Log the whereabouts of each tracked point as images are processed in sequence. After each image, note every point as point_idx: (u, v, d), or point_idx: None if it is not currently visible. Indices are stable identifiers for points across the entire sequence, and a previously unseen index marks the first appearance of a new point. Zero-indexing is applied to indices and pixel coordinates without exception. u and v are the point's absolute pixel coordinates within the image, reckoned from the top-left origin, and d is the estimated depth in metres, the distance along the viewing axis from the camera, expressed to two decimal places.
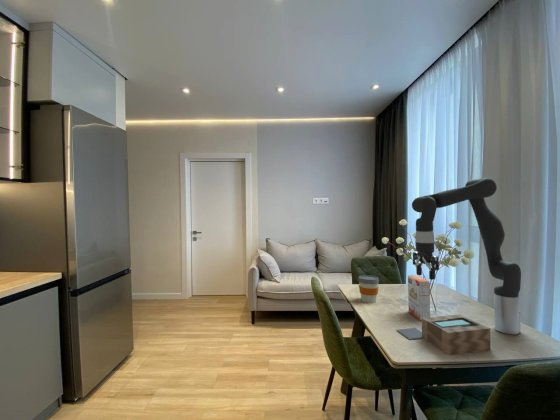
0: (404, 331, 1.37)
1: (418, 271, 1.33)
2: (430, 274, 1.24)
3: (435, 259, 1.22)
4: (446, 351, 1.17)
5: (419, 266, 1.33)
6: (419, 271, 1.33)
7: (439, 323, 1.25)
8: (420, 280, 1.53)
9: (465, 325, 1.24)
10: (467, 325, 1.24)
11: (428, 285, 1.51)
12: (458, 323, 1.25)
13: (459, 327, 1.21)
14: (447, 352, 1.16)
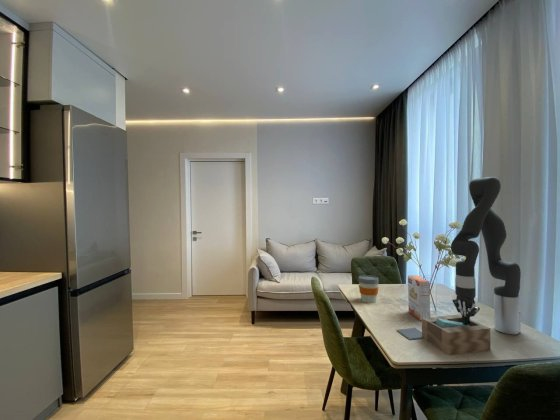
0: (404, 331, 1.37)
1: None
2: (465, 320, 1.26)
3: (475, 311, 1.21)
4: (446, 351, 1.17)
5: None
6: None
7: (441, 319, 1.25)
8: (420, 280, 1.53)
9: None
10: None
11: (428, 285, 1.51)
12: (460, 324, 1.25)
13: (459, 327, 1.21)
14: (447, 352, 1.16)
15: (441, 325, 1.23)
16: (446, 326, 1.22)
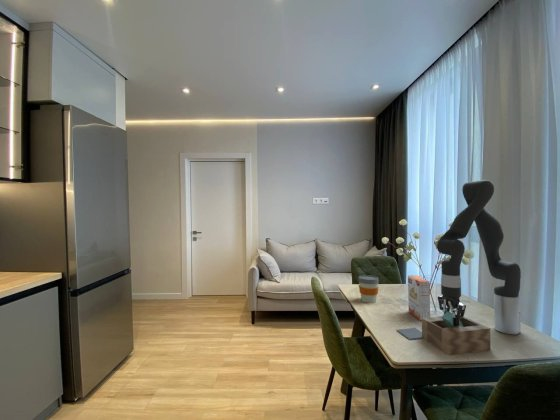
0: (404, 331, 1.37)
1: None
2: (454, 321, 1.22)
3: (462, 308, 1.19)
4: (446, 351, 1.17)
5: None
6: None
7: None
8: (420, 280, 1.53)
9: None
10: None
11: (428, 285, 1.51)
12: None
13: (459, 327, 1.21)
14: (447, 352, 1.16)
15: (450, 316, 1.24)
16: None
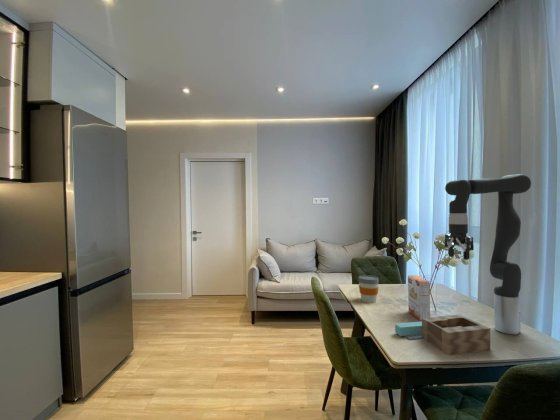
0: None
1: (450, 253, 1.36)
2: (464, 254, 1.28)
3: (470, 239, 1.26)
4: (446, 351, 1.17)
5: (451, 248, 1.37)
6: (452, 252, 1.36)
7: (399, 324, 1.35)
8: (420, 280, 1.53)
9: None
10: None
11: (428, 285, 1.51)
12: (417, 324, 1.35)
13: (459, 327, 1.21)
14: (447, 352, 1.16)
15: (399, 330, 1.33)
16: (403, 330, 1.32)
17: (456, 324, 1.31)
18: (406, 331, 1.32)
